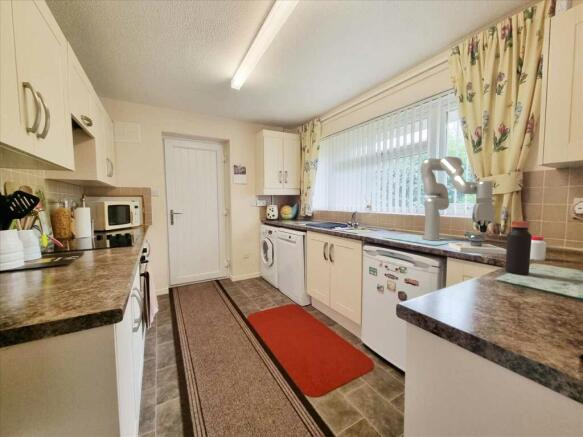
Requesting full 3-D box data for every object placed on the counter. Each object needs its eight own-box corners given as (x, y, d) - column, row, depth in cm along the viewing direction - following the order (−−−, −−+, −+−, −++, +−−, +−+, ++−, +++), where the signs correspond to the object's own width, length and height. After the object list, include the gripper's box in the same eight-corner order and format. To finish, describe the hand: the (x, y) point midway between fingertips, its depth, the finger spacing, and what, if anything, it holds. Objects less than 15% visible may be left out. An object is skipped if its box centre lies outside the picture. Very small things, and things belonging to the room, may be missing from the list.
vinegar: (531, 273, 92) (535, 221, 91) (525, 276, 89) (529, 222, 87) (508, 269, 98) (511, 220, 97) (502, 271, 94) (505, 221, 93)
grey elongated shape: (487, 246, 134) (487, 235, 133) (471, 246, 136) (472, 235, 135) (472, 242, 150) (473, 232, 150) (458, 241, 152) (459, 231, 152)
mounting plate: (448, 246, 150) (448, 241, 150) (489, 248, 144) (490, 243, 144) (460, 251, 133) (460, 246, 133) (507, 254, 128) (507, 249, 127)
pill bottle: (540, 257, 121) (541, 236, 120) (548, 261, 114) (550, 238, 113) (520, 256, 124) (521, 235, 123) (527, 259, 117) (528, 236, 116)
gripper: (495, 201, 146) (493, 232, 146) (466, 202, 149) (465, 231, 150) (502, 201, 138) (501, 233, 139) (472, 201, 142) (471, 232, 143)
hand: (482, 232), depth 145 cm, fingers closed
